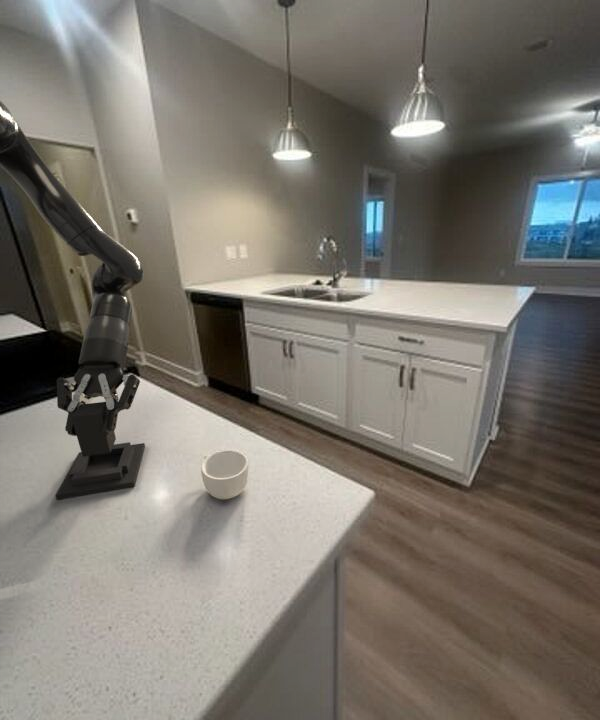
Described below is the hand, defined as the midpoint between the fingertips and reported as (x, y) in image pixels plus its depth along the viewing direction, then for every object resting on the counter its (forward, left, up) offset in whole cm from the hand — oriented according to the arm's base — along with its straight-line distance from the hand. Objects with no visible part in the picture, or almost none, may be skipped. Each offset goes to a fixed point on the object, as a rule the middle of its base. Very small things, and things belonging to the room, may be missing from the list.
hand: (90, 433), depth 59 cm
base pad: (0, +2, -9) cm, 9 cm away
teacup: (+21, -8, -9) cm, 25 cm away
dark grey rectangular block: (0, +2, -4) cm, 5 cm away
